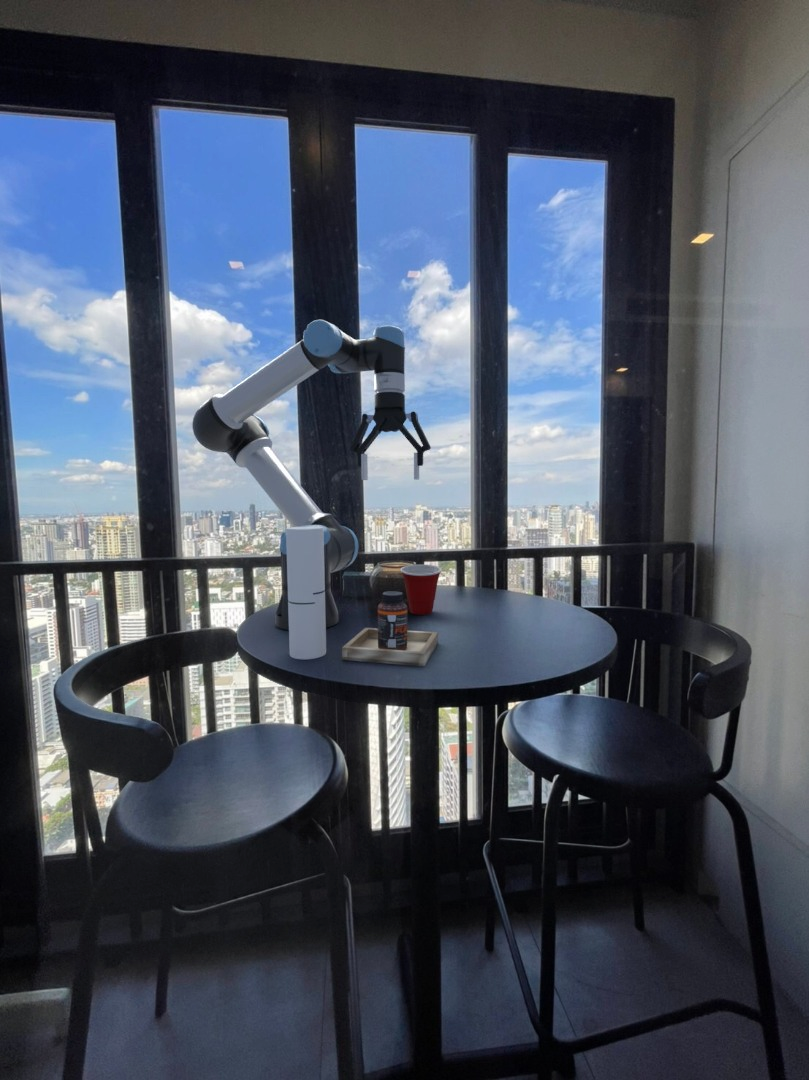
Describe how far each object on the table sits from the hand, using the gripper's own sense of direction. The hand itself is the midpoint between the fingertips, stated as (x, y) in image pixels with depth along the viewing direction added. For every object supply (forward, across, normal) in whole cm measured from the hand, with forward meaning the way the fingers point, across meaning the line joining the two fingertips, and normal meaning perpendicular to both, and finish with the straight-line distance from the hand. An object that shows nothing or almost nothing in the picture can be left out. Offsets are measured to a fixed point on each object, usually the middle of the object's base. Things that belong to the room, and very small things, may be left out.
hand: (390, 479), depth 125 cm
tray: (+35, +8, -28) cm, 45 cm away
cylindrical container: (+35, -8, -33) cm, 49 cm away
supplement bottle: (+34, +8, -28) cm, 45 cm away
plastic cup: (+35, +7, +4) cm, 36 cm away
